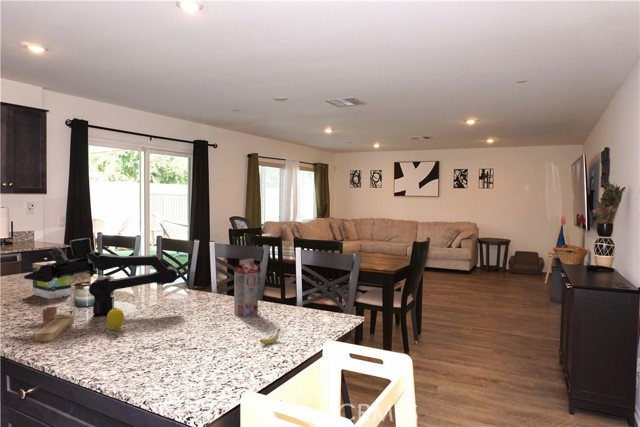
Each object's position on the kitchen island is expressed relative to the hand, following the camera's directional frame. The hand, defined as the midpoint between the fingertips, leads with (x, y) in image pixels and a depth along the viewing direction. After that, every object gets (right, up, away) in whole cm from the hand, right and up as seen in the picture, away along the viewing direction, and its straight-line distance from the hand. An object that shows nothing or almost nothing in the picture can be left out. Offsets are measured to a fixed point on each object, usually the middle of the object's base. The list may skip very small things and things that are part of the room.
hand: (29, 276), depth 158 cm
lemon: (+37, -17, -11) cm, 43 cm away
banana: (+92, -19, -20) cm, 96 cm away
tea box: (-14, -14, +36) cm, 42 cm away
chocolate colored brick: (+15, -17, -6) cm, 23 cm away
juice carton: (+78, -17, +11) cm, 81 cm away
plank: (+18, -17, -13) cm, 27 cm away
